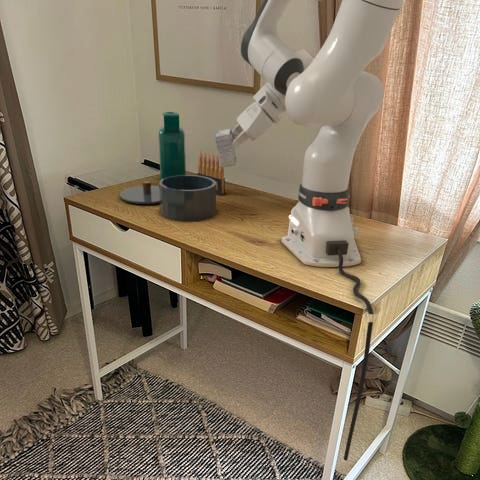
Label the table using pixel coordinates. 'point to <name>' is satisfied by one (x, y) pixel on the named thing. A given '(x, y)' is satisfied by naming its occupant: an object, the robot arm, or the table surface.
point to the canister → (187, 197)
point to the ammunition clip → (212, 171)
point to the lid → (141, 194)
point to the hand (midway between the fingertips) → (231, 142)
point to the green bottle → (171, 146)
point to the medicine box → (225, 148)
